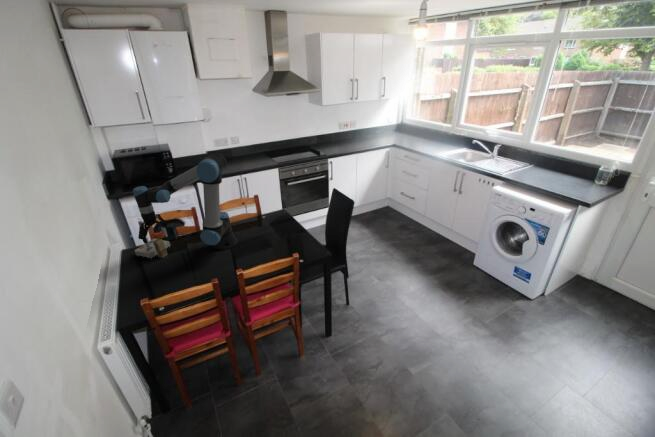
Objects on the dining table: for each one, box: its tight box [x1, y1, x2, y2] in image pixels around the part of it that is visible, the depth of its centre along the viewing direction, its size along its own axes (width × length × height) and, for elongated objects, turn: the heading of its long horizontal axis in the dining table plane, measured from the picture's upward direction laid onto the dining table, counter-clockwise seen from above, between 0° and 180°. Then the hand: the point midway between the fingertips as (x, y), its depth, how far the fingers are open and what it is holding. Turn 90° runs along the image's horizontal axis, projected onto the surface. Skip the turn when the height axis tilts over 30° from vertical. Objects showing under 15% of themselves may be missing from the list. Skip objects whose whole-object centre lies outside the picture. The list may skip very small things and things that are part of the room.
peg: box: [153, 238, 169, 259], centre depth 206 cm, size 4×4×12 cm
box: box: [160, 222, 180, 241], centre depth 227 cm, size 8×6×11 cm
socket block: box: [133, 238, 171, 260], centre depth 215 cm, size 14×16×4 cm
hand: (157, 241), depth 204 cm, fingers open, 13 cm apart
